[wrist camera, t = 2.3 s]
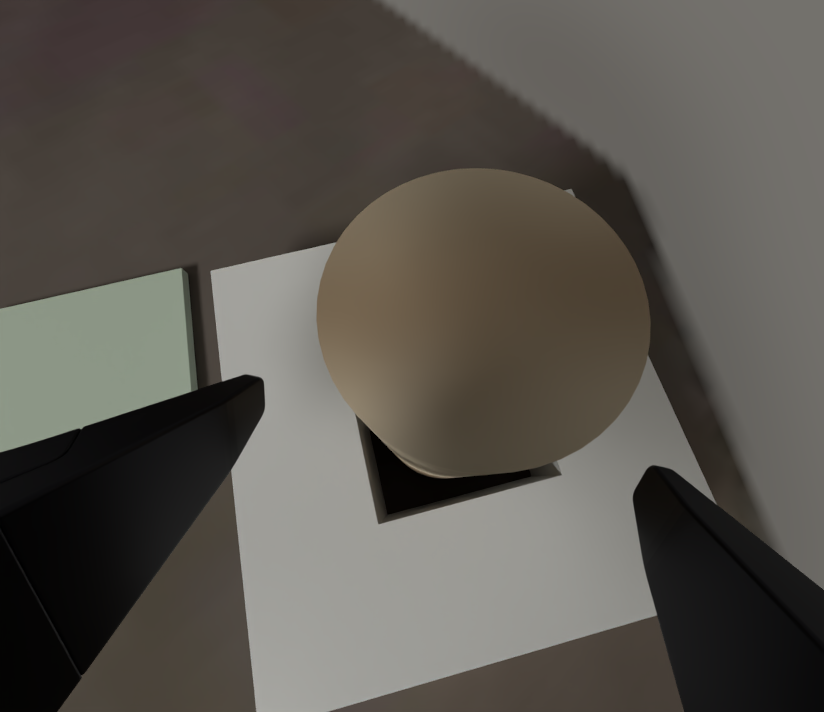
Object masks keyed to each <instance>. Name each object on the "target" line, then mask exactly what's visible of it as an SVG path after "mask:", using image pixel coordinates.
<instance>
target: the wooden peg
mask: <svg viewBox="0 0 824 712" xmlns="http://www.w3.org/2000/svg"><path fill="white" fill-rule="evenodd" d="M316 321H317V330H318V339H319V343H320V347H321V351H322V355H323V359H324V362H325V364H326V366H327V369H328V371H329V373H330V376H331V378H332V380H333V382H334V384H335V385H336V387H337V389H338V390H339V392H340V394H341V395H342V397H343V399H344V400H345V401H346V403H347V404H348V405H349V406H350V407H351V409H352V410H353V411H354V412H355V414H356V415H357V416H358V417H359V418H360V419H361V420H362V421H363V422H364V423H365V424H366V425H367V426H368V427H369V428H370V429H371V430H372V431H373V432H374V433H375V434H376V436H377V437H378V438H379V439H380V440H381V441H382V442H383V443H384V444H385V445H386V446H387V447H388V448H389V449H390V450H391V451H392V452H393V453H394V454H395V455H396V456H397V457H398V458H399V459H400V460H401V461H402V462H403V463H404V464H405V465H406V466H407V467H409V468H410V469H412V470H413V471H415V472H417V473H419V474H421V475H424V476H426V477H431V478H438V479H446V478H457V477H468V476H479V475H490V474H500V473H511V472H517V471H522V470H528V469H533V468H537V467H540V466H543V465H546V464H549V463H552V462H555V461H558V460H560V459H562V458H564V457H566V456H568V455H570V454H572V453H574V452H576V451H578V450H580V449H581V448H583V447H584V446H586V445H587V444H588V443H590V442H591V441H593V440H594V439H595V438H597V437H598V436H600V435H601V434H602V433H603V432H604V431H605V430H606V429H607V428H608V427H609V426H610V425H611V424H612V423H613V422H614V421H615V420H616V419H617V417H618V416H619V415H620V413H621V412H622V411H623V409H624V408H625V407H626V405H627V404H628V403H629V401H630V399H631V397H632V396H633V394H634V392H635V390H636V388H637V386H638V384H639V382H640V379H641V376H642V374H643V371H644V368H645V365H646V361H647V356H648V351H649V345H650V328H651V320H650V311H649V302H648V298H647V294H646V291H645V287H644V283H643V280H642V278H641V275H640V273H639V270H638V268H637V266H636V263H635V262H634V260H633V258H632V256H631V255H630V253H629V251H628V249H627V248H626V246H625V245H624V243H623V242H622V241H621V239H620V238H619V237H618V235H617V234H616V233H615V231H614V230H613V229H612V228H611V227H610V226H609V225H608V224H607V223H606V222H605V221H604V220H603V219H602V218H601V217H600V216H599V215H598V214H597V213H596V212H595V211H593V210H592V209H591V208H590V207H588V206H587V205H586V204H585V203H583V202H582V201H580V200H579V199H577V198H576V197H574V196H573V195H571V194H570V193H568V192H566V191H564V190H562V189H560V188H558V187H556V186H554V185H552V184H550V183H547V182H545V181H542V180H539V179H537V178H534V177H531V176H527V175H523V174H520V173H516V172H511V171H504V170H498V169H484V168H468V169H454V170H448V171H442V172H437V173H433V174H430V175H426V176H422V177H419V178H416V179H414V180H411V181H409V182H407V183H404V184H402V185H400V186H398V187H396V188H394V189H392V190H391V191H389V192H387V193H385V194H384V195H382V196H381V197H379V198H378V199H377V200H375V201H374V202H372V203H371V204H370V205H369V206H367V207H366V208H365V209H364V210H363V211H362V212H361V213H360V214H359V215H358V216H356V218H355V219H354V220H353V221H352V222H351V223H350V225H349V226H348V227H347V228H346V229H345V230H344V232H343V233H342V235H341V236H340V238H339V240H338V241H337V243H336V244H335V246H334V247H333V250H332V252H331V254H330V256H329V258H328V260H327V262H326V265H325V268H324V271H323V274H322V277H321V280H320V285H319V291H318V297H317V315H316Z"/></svg>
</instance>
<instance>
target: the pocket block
mask: <svg viewBox="0 0 824 712" xmlns="http://www.w3.org/2000/svg"><path fill="white" fill-rule="evenodd" d="M564 191H566V192H568V193H570V194H571V195H573V196H574V197H575V195H574V193H573V191H572V189H569V190H564ZM336 243H337V242H336ZM336 243H331V244H327V245H323V246H318V247H314V248H309V249H305V250H301V251H296V252H292V253H287V254H283V255H279V256H274V257H270V258H266V259H261V260H257V261H252V262H248V263H244V264H239V265H235V266H230V267H226V268H222V269H217V270H213V271H211V280H212V289H213V299H214V309H215V318H216V328H217V337H218V347H219V356H220V366H221V376H222V381H225V380H228V379H232V378H235V377H238V376H241V375H244V374H249V375H253V376H258V377H261V378H262V379H263V381H264V390H265V410H264V413H263V415H262V417H261V419H260V421H259V423H258V424H257V426H256V428H255V430H254V432H253V433H252V435H251V437H250V439H249V440H248V442H247V444H246V446H245V447H244V449H243V451H242V453H241V455H240V456H239V458H238V460H237V461H236V463H235V465H234V466H233V468H232V469H231V471H232V481H233V491H234V500H235V510H236V519H237V529H238V539H239V548H240V558H241V567H242V577H243V587H244V596H245V606H246V615H247V625H248V634H249V644H250V654H251V663H252V673H253V682H254V692H255V702H256V711H257V712H328V711H331V710H335V709H338V708H342V707H345V706H349V705H352V704H355V703H359V702H362V701H366V700H369V699H372V698H376V697H379V696H383V695H386V694H390V693H393V692H396V691H400V690H403V689H407V688H410V687H413V686H417V685H420V684H424V683H427V682H431V681H434V680H437V679H441V678H444V677H448V676H451V675H454V674H458V673H461V672H465V671H468V670H472V669H475V668H478V667H482V666H485V665H489V664H492V663H495V662H499V661H502V660H506V659H509V658H513V657H516V656H519V655H523V654H526V653H530V652H533V651H536V650H540V649H543V648H547V647H550V646H554V645H557V644H560V643H564V642H567V641H571V640H574V639H577V638H581V637H584V636H588V635H591V634H595V633H598V632H601V631H605V630H608V629H612V628H615V627H618V626H622V625H625V624H629V623H632V622H636V621H639V620H642V619H646V618H649V617H653V616H656V615H657V613H656V609H655V606H654V602H653V599H652V595H651V591H650V588H649V584H648V581H647V577H646V573H645V569H644V565H643V560H642V554H641V548H640V542H639V536H638V530H637V524H636V518H635V512H634V506H633V493H634V490H635V488H636V486H637V485H638V483H639V481H640V480H641V478H642V476H643V474H644V473H645V471H646V469H647V468H648V467H649V466H651V465H657V466H661V467H666V468H670V469H672V470H674V471H675V472H676V473H678V474H679V475H680V476H681V477H683V478H684V479H685V480H686V481H688V482H689V483H690V484H691V485H693V486H694V487H695V488H696V489H698V490H699V491H700V492H701V493H703V494H704V495H705V496H706V497H708V498H709V499H710V500H711V501H713V502H714V503H715V504H716V502H715V500H714V497H713V495H712V493H711V491H710V489H709V486H708V484H707V482H706V480H705V478H704V476H703V473H702V471H701V469H700V467H699V465H698V463H697V460H696V458H695V456H694V454H693V452H692V450H691V447H690V445H689V443H688V441H687V439H686V436H685V434H684V432H683V430H682V428H681V426H680V423H679V421H678V419H677V417H676V415H675V413H674V410H673V408H672V406H671V404H670V402H669V400H668V397H667V395H666V393H665V391H664V389H663V386H662V384H661V382H660V380H659V378H658V376H657V373H656V371H655V369H654V367H653V365H652V363H651V360H650V358H649V356H647V361H646V365H645V368H644V371H643V374H642V376H641V379H640V382H639V384H638V386H637V388H636V390H635V392H634V394H633V396H632V397H631V399H630V401H629V403H628V404H627V405H626V407H625V408H624V409H623V411H622V412H621V413H620V415H619V416H618V417H617V419H616V420H615V421H614V422H613V423H612V424H611V425H610V426H609V427H608V428H607V429H606V430H605V431H604V432H603V433H602V434H601V435H600V436H598V437H597V438H595V439H594V440H593V441H591V442H590V443H588V444H587V445H586V446H584V447H583V448H581V449H580V450H578V451H576V452H574V453H572V454H570V455H568V456H566V457H564V458H562V459H560V460H558V461H555V462H552V463H549V464H546V465H543V466H540V467H537V468H533V469H529V470H530V473H531V477H527V478H523V479H520V480H516V481H512V482H508V483H505V484H501V485H497V486H493V487H490V488H486V489H482V490H478V491H475V492H471V493H467V494H464V495H460V496H456V497H452V498H449V499H445V500H441V501H437V502H434V503H430V504H426V505H422V506H419V507H415V508H411V509H407V510H404V511H400V512H396V513H393V514H389V515H388V514H387V509H386V505H385V500H384V495H383V491H382V486H381V482H380V477H379V472H378V468H377V463H376V458H375V454H374V449H373V444H372V440H371V435H370V430H369V427H368V426H367V425H366V424H365V423H364V422H363V421H362V420H361V419H360V418H359V417H358V416H357V415H356V414H355V412H354V411H353V410H352V409H351V407H350V406H349V405H348V404H347V403H346V401H345V400H344V399H343V397H342V395H341V394H340V392H339V390H338V389H337V387H336V385H335V384H334V382H333V380H332V378H331V376H330V373H329V371H328V369H327V366H326V364H325V362H324V359H323V355H322V351H321V347H320V343H319V339H318V330H317V321H316V315H317V297H318V291H319V285H320V280H321V277H322V274H323V271H324V268H325V265H326V262H327V260H328V258H329V256H330V254H331V252H332V250H333V247H334V246H335V244H336ZM716 505H717V504H716Z"/></svg>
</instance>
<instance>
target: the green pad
mask: <svg viewBox="0 0 824 712" xmlns="http://www.w3.org/2000/svg"><path fill="white" fill-rule="evenodd" d="M195 390H198V387H197V375H196V363H195V351H194V339H193V327H192V316H191V304H190V292H189V280H188V273H187V272H185V271H184V270H183V269H182V268H179V269H175V270H170V271H166V272H162V273H157V274H153V275H148V276H144V277H140V278H135V279H131V280H126V281H122V282H117V283H113V284H109V285H104V286H100V287H95V288H91V289H86V290H82V291H78V292H73V293H69V294H64V295H60V296H56V297H51V298H47V299H42V300H38V301H33V302H29V303H25V304H20V305H16V306H11V307H7V308H3V309H0V452H3V451H7V450H10V449H14V448H17V447H21V446H24V445H27V444H30V443H34V442H37V441H40V440H43V439H47V438H50V437H53V436H56V435H59V434H62V433H65V432H68V431H71V430H74V429H78V428H80V429H82V428H83V427H84V426H87V425H90V424H93V423H96V422H99V421H102V420H105V419H109V418H112V417H115V416H118V415H121V414H124V413H127V412H130V411H133V410H136V409H139V408H142V407H145V406H149V405H152V404H155V403H158V402H161V401H164V400H167V399H170V398H173V397H176V396H179V395H182V394H185V393H189V392H192V391H195Z"/></svg>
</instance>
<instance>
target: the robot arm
mask: <svg viewBox="0 0 824 712" xmlns="http://www.w3.org/2000/svg"><path fill="white" fill-rule="evenodd" d="M264 410H265V390H264V381H263V379H262V378H261V377H258V376H253V375H249V374H244V375H241V376H238V377H235V378H232V379H228V380H225V381H222V382H219V383H216V384H213V385H210V386H207V387H204V388H201V389H198V390H195V391H192V392H189V393H185V394H182V395H179V396H176V397H173V398H170V399H167V400H164V401H161V402H158V403H155V404H152V405H149V406H145V407H142V408H139V409H136V410H133V411H130V412H127V413H124V414H121V415H118V416H115V417H112V418H109V419H105V420H102V421H99V422H96V423H93V424H90V425H87V426H84V427H83V428H82V429H80V428H78V429H74V430H71V431H68V432H65V433H62V434H59V435H56V436H53V437H50V438H47V439H43V440H40V441H37V442H34V443H30V444H27V445H24V446H21V447H17V448H14V449H10V450H7V451H3V452H0V712H57V711H58V710H59V709H60V707H61V706H62V705H63V703H64V702H65V700H66V699H67V698H68V696H69V695H70V693H71V692H72V691H73V689H74V688H75V686H76V685H77V684H78V682H79V681H80V680H81V678H82V676H81V675H83V674H84V673H85V672H86V671H87V669H88V668H89V667H90V665H91V664H92V662H93V661H94V660H95V658H96V657H97V655H98V654H99V653H100V651H101V650H102V649H103V647H104V646H105V644H106V643H107V642H108V640H109V639H110V637H111V636H112V635H113V633H114V632H115V630H116V629H117V628H118V626H119V625H120V624H121V622H122V621H123V619H124V618H125V617H126V615H127V614H128V612H129V611H130V610H131V608H132V607H133V606H134V604H135V603H136V601H137V600H138V599H139V597H140V596H141V594H142V593H143V592H144V590H145V589H146V587H147V586H148V585H149V583H150V582H151V581H152V579H153V578H154V576H155V575H156V574H157V572H158V571H159V569H160V568H161V567H162V565H163V564H164V563H165V561H166V560H167V558H168V557H169V556H170V554H171V553H172V551H173V550H174V549H175V547H176V546H177V544H178V543H179V542H180V540H181V539H182V538H183V536H184V535H185V533H186V532H187V531H188V529H189V528H190V526H191V525H192V524H193V522H194V521H195V520H196V518H197V517H198V515H199V514H200V513H201V511H202V510H203V508H204V507H205V506H206V504H207V503H208V502H209V500H210V499H211V497H212V496H213V495H214V493H215V492H216V490H217V489H218V488H219V486H220V485H221V483H222V482H223V481H224V479H225V478H226V477H227V475H228V474H229V472H230V471H231V469H232V468H233V466H234V465H235V463H236V461H237V460H238V458H239V456H240V455H241V453H242V451H243V449H244V447H245V446H246V444H247V442H248V440H249V439H250V437H251V435H252V433H253V432H254V430H255V428H256V426H257V424H258V423H259V421H260V419H261V417H262V415H263V413H264ZM633 506H634V512H635V518H636V524H637V530H638V536H639V542H640V548H641V554H642V560H643V565H644V569H645V573H646V577H647V581H648V584H649V588H650V591H651V595H652V599H653V602H654V606H655V609H656V613H657V616H658V620H659V624H660V627H661V631H662V634H663V638H664V641H665V645H666V648H667V652H668V656H669V659H670V663H671V666H672V670H673V673H674V677H675V681H676V684H677V688H678V691H679V695H680V698H681V702H682V705H683V709H684V712H824V590H823V589H822V588H821V587H819V586H818V585H816V584H815V583H814V582H813V581H812V580H810V579H809V578H808V577H807V576H805V575H804V574H803V573H802V572H800V571H799V570H798V569H797V568H795V567H794V566H793V565H792V564H790V563H789V562H788V561H787V560H785V559H784V558H783V557H782V556H780V555H779V554H778V553H777V552H775V551H774V550H773V549H772V548H770V547H769V546H768V545H767V544H765V543H764V542H763V541H762V540H760V539H759V538H758V537H757V536H755V535H754V534H753V533H752V532H750V531H749V530H748V529H747V528H745V527H744V526H743V525H742V524H740V523H739V522H738V521H737V520H735V519H734V518H733V517H732V516H730V515H729V514H728V513H726V512H725V511H724V510H723V509H721V508H720V507H719V506H718V505H716V504H715V503H714V502H713V501H711V500H710V499H709V498H708V497H706V496H705V495H704V494H703V493H701V492H700V491H699V490H698V489H696V488H695V487H694V486H693V485H691V484H690V483H689V482H688V481H686V480H685V479H684V478H683V477H681V476H680V475H679V474H678V473H676V472H675V471H674V470H672V469H670V468H666V467H661V466H657V465H651V466H649V467H648V468H647V469H646V471H645V473H644V474H643V476H642V478H641V480H640V481H639V483H638V485H637V486H636V488H635V490H634V493H633Z"/></svg>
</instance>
